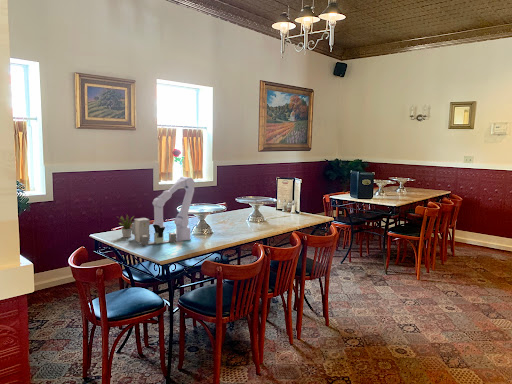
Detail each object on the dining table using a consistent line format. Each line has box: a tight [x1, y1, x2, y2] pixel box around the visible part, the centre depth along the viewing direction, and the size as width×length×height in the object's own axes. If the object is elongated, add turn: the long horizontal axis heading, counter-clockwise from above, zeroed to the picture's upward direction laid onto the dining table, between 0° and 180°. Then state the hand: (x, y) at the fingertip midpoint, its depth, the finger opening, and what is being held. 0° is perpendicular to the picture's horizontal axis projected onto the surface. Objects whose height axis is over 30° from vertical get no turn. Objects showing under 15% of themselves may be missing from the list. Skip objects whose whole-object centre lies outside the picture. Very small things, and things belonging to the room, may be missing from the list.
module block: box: [153, 232, 164, 243], centre depth 260 cm, size 5×5×6 cm
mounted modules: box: [140, 232, 176, 246], centre depth 260 cm, size 22×5×5 cm, turn 119°
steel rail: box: [139, 239, 178, 247], centre depth 260 cm, size 24×4×1 cm, turn 119°
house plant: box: [117, 214, 135, 238], centre depth 274 cm, size 14×14×16 cm
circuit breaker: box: [131, 217, 151, 243], centre depth 268 cm, size 8×14×15 cm, turn 41°
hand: (158, 236), depth 260 cm, fingers open, 7 cm apart
